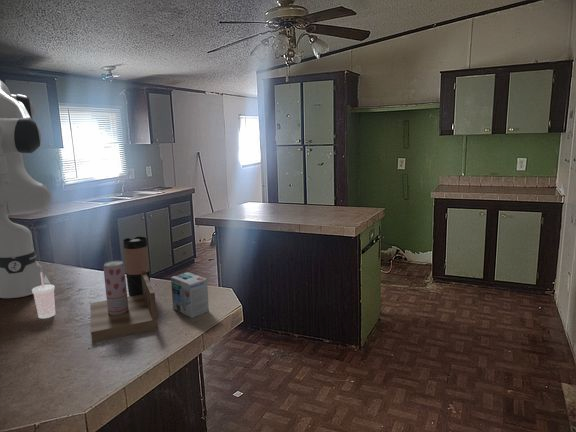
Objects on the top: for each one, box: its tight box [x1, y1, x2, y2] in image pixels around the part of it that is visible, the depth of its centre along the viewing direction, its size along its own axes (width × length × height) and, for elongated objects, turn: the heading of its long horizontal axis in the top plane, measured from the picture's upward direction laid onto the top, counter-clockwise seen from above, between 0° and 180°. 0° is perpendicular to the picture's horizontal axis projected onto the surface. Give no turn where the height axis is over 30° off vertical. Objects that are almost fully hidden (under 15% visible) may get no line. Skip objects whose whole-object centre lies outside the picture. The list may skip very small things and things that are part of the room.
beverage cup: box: [32, 271, 56, 319], centre depth 129 cm, size 6×6×14 cm
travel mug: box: [122, 236, 151, 297], centre depth 144 cm, size 8×8×20 cm
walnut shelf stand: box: [89, 271, 159, 343], centre depth 125 cm, size 22×17×11 cm
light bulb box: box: [170, 271, 209, 318], centre depth 131 cm, size 11×7×11 cm, turn 47°
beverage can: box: [103, 260, 128, 315], centre depth 123 cm, size 6×6×15 cm
